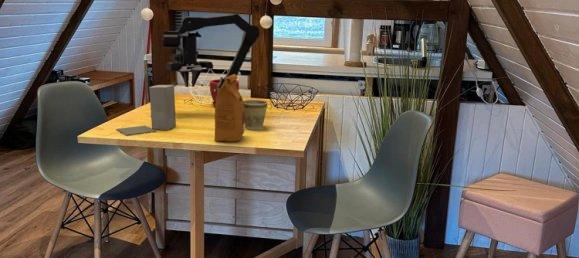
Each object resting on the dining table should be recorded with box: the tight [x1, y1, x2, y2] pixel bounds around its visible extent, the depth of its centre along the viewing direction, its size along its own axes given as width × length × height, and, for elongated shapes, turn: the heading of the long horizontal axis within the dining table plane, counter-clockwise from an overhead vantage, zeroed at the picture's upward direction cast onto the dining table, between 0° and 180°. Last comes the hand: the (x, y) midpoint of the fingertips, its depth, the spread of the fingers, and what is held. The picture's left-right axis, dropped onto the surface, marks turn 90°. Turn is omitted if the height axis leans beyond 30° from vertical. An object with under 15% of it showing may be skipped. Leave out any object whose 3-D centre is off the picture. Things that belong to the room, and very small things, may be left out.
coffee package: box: [214, 74, 245, 142], centre depth 178 cm, size 10×12×22 cm
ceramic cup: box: [243, 99, 268, 131], centre depth 197 cm, size 13×10×10 cm
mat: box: [115, 125, 157, 137], centre depth 187 cm, size 11×10×1 cm
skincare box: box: [148, 84, 177, 131], centre depth 191 cm, size 8×7×16 cm
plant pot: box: [209, 78, 240, 107], centre depth 235 cm, size 13×13×12 cm
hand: (190, 87), depth 212 cm, fingers open, 2 cm apart
